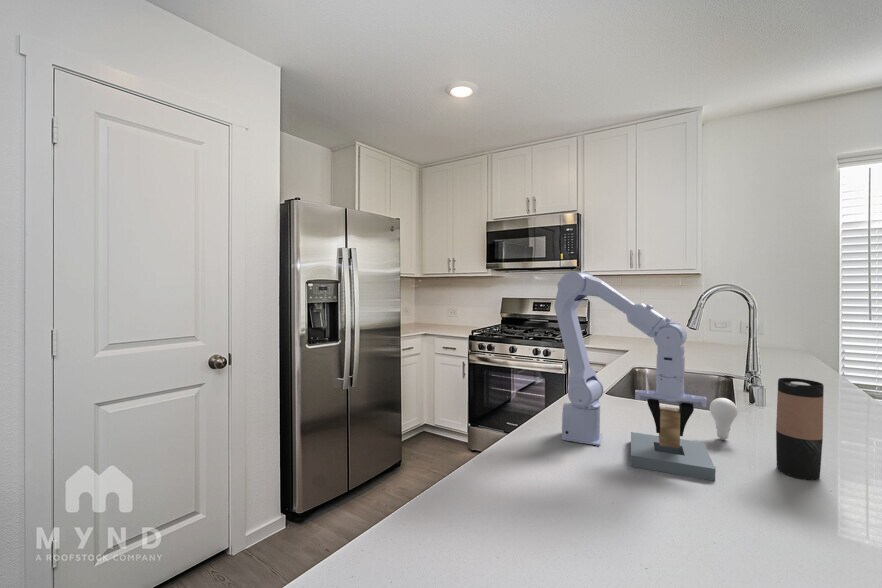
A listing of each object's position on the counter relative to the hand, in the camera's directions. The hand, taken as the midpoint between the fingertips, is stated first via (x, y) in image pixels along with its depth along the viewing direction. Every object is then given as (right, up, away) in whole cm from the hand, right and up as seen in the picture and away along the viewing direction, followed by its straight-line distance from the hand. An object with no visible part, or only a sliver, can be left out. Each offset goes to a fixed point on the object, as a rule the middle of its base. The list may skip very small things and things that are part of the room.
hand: (669, 433), depth 97 cm
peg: (0, -2, 0) cm, 2 cm away
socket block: (0, -6, 0) cm, 6 cm away
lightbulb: (+21, -6, +12) cm, 25 cm away
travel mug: (+24, -7, -7) cm, 26 cm away
